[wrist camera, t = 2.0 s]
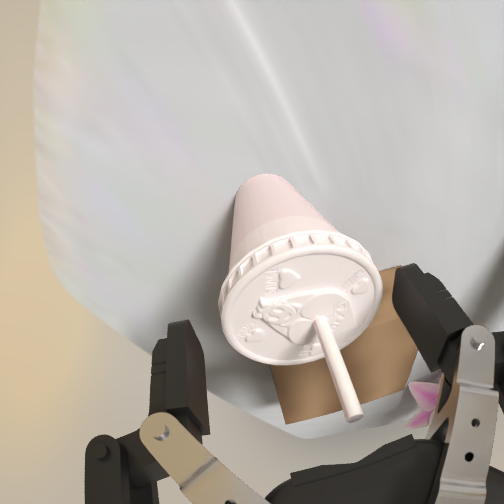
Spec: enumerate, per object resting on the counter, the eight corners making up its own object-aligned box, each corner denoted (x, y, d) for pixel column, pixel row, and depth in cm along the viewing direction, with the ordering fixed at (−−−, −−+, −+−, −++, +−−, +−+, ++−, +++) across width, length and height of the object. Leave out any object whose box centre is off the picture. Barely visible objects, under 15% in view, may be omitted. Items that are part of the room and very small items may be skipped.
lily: (475, 348, 38) (500, 381, 29) (455, 409, 41) (471, 446, 31) (405, 351, 41) (421, 389, 32) (390, 414, 43) (398, 455, 34)
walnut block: (400, 265, 24) (430, 307, 20) (386, 352, 31) (403, 389, 27) (256, 302, 24) (266, 354, 20) (276, 382, 31) (285, 424, 27)
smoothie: (290, 255, 22) (360, 451, 11) (199, 232, 20) (204, 457, 9) (332, 172, 19) (474, 352, 8) (232, 137, 17) (291, 339, 6)
